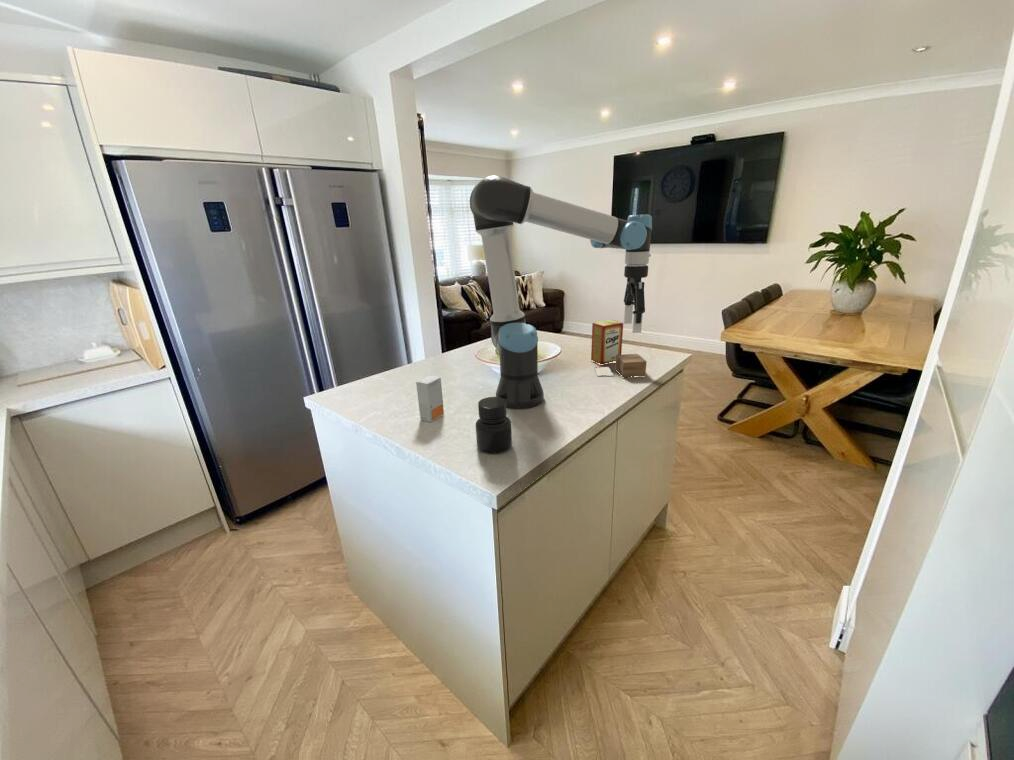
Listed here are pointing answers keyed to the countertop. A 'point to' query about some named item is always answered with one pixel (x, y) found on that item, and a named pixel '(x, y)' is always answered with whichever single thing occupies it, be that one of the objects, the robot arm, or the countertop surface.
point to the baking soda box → (606, 341)
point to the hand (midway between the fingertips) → (631, 327)
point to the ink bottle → (493, 426)
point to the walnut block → (630, 365)
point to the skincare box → (430, 398)
